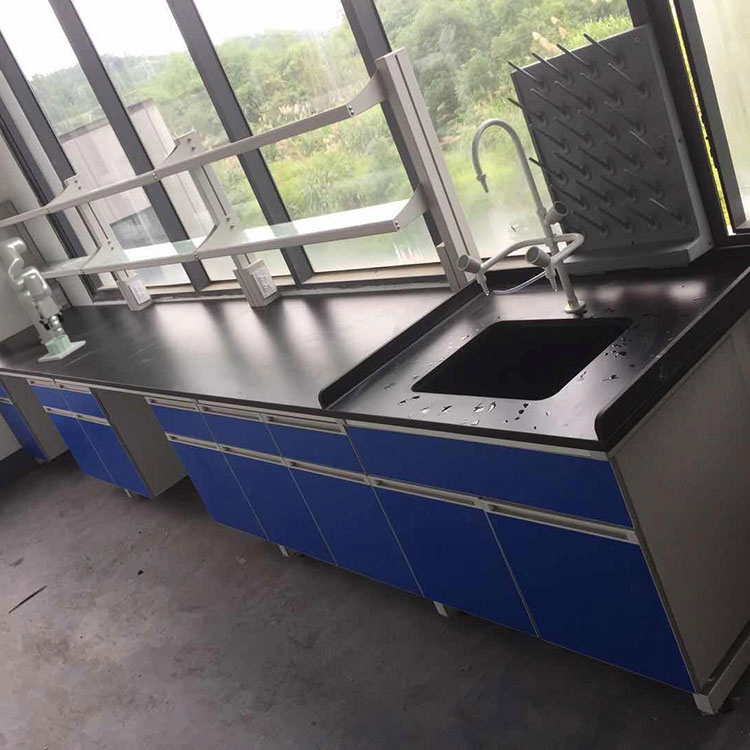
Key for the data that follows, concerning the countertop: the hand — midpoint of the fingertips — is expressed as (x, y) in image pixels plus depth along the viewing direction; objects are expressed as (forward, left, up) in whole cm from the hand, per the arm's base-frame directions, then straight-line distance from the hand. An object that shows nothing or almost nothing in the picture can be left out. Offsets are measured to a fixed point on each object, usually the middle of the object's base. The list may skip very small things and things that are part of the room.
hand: (55, 326), depth 429 cm
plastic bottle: (0, 0, -11) cm, 11 cm away
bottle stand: (+14, -13, -11) cm, 22 cm away
